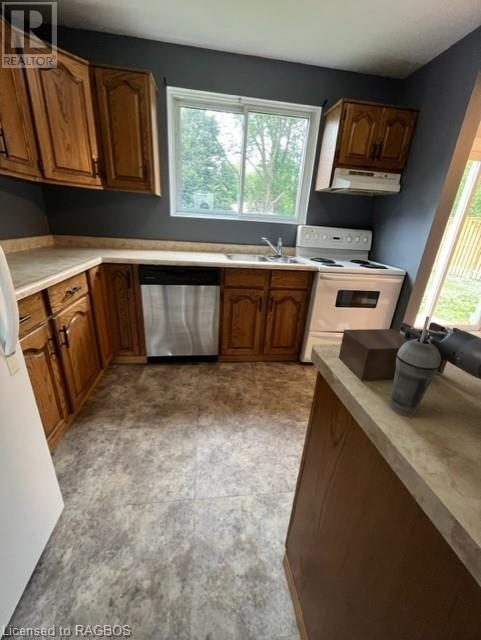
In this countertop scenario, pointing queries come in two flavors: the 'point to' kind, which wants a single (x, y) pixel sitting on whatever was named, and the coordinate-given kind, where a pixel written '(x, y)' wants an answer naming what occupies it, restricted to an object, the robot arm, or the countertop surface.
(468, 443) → the countertop surface
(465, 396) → the countertop surface
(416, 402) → the beverage cup
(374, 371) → the dark brown wooden box
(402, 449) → the countertop surface
